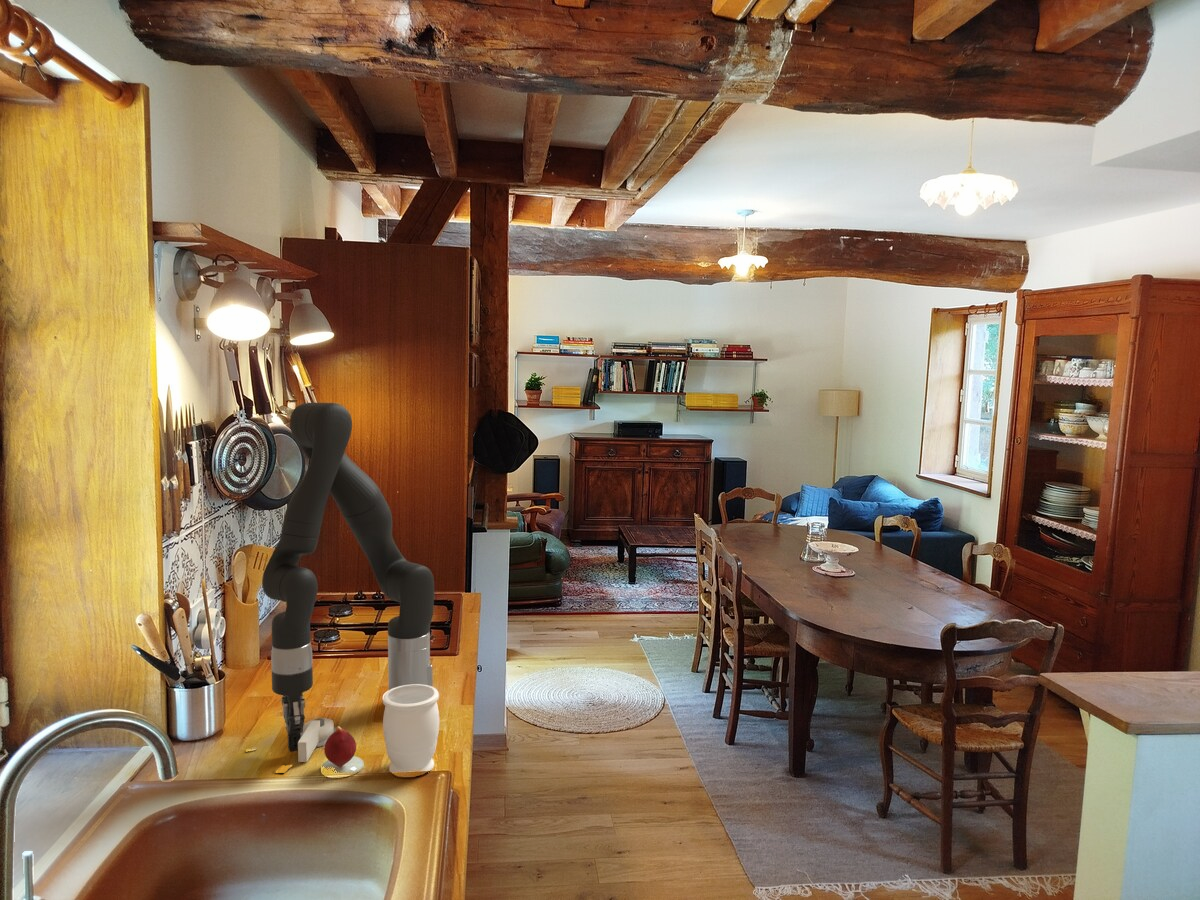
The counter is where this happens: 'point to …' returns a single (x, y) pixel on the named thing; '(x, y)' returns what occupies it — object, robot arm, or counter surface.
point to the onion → (340, 747)
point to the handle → (313, 736)
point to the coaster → (346, 766)
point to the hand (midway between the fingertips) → (294, 749)
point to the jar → (411, 727)
